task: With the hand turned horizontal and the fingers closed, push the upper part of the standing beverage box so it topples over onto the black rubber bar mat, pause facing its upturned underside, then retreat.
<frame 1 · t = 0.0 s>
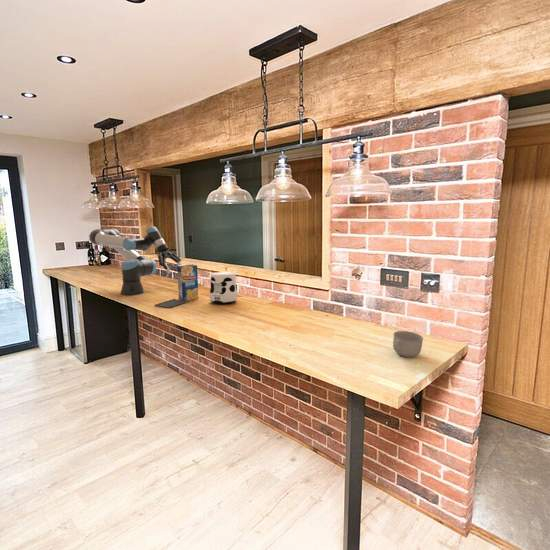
hand: (176, 271, 254), 15 cm above the worktop, tool tilted 35°, fingers open, 13 cm apart
bar mat: (172, 303, 225), on the worktop
milk container: (223, 302, 229), on the worktop
teacup: (404, 355, 141), on the worktop
beverage box: (188, 299, 239), on the worktop
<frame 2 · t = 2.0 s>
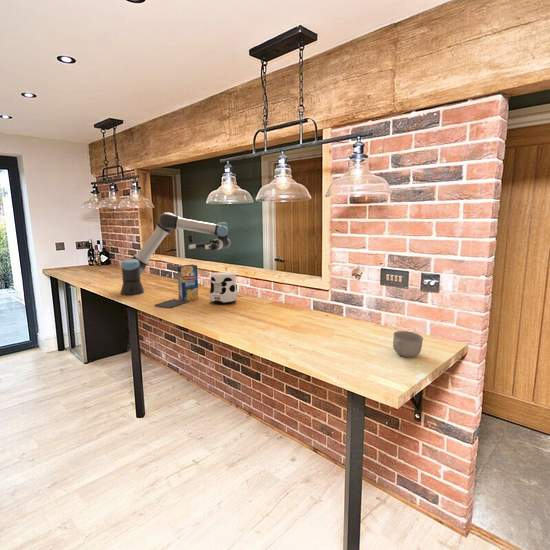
hand: (197, 247, 247), 33 cm above the worktop, tool horizontal, fingers open, 13 cm apart
nothing on the worktop moved.
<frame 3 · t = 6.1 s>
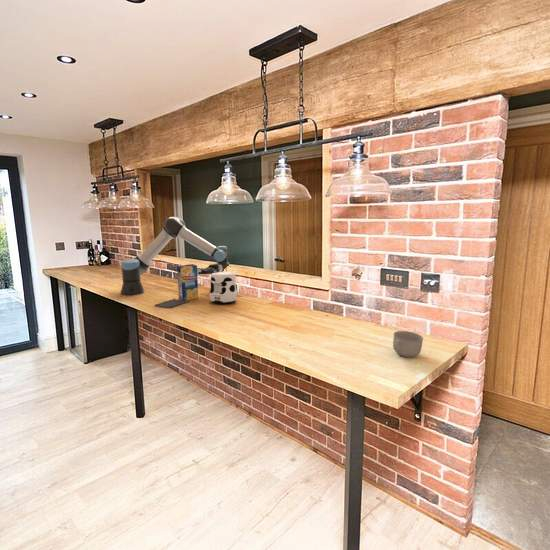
hand: (194, 273, 240), 16 cm above the worktop, tool horizontal, fingers closed
beverage box: (188, 298, 239), on the worktop, touching gripper
everything else where it was.
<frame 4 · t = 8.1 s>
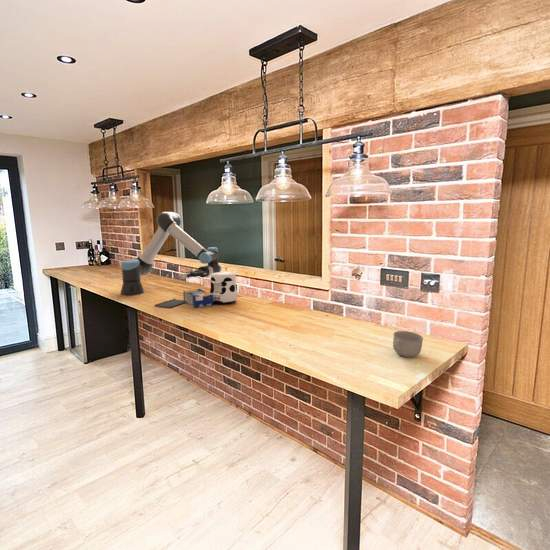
hand: (182, 276, 229), 16 cm above the worktop, tool horizontal, fingers closed
beverage box: (191, 294, 235), point 3 cm above the worktop
everything else where it was.
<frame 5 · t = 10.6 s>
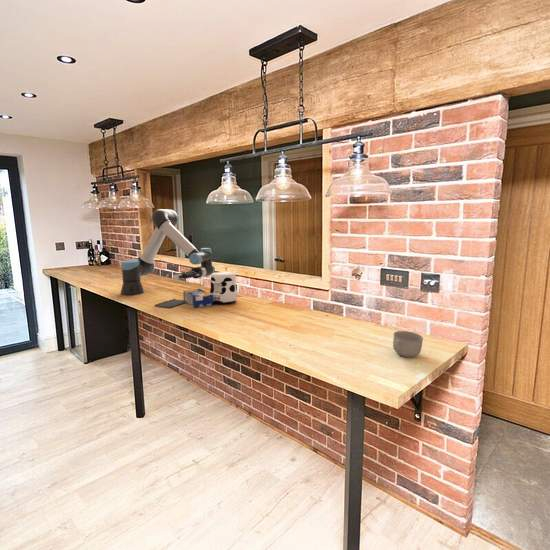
hand: (174, 277, 225), 16 cm above the worktop, tool horizontal, fingers closed
nothing on the worktop moved.
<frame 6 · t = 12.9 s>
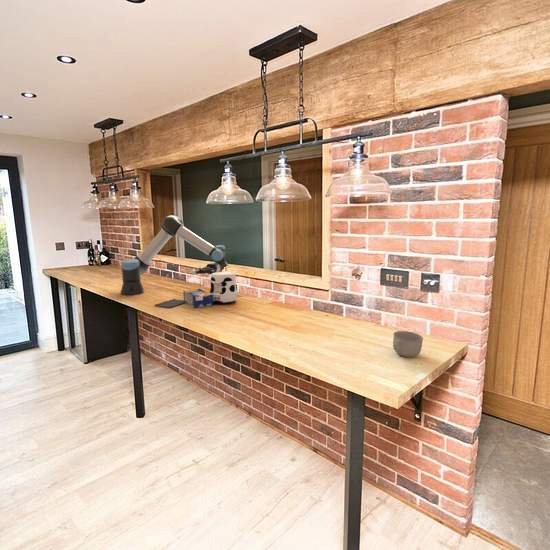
hand: (191, 273, 240), 16 cm above the worktop, tool horizontal, fingers closed
nothing on the worktop moved.
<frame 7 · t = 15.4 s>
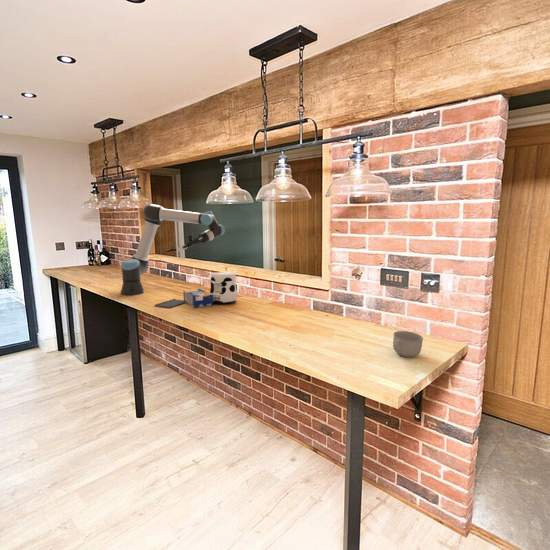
hand: (178, 250, 245), 31 cm above the worktop, tool tilted 70°, fingers closed
nothing on the worktop moved.
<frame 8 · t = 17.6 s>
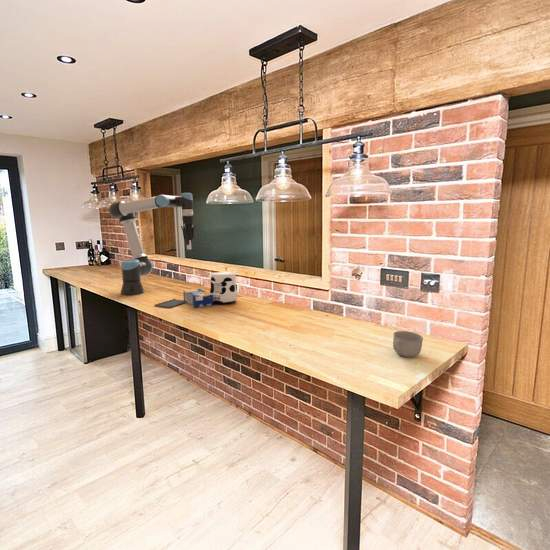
hand: (189, 249, 257), 30 cm above the worktop, tool pointing down, fingers closed
nothing on the worktop moved.
at the end: beverage box tilted 90°; beverage box inside the target area (14.1 cm from its centre), point 3.3 cm above the worktop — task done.
